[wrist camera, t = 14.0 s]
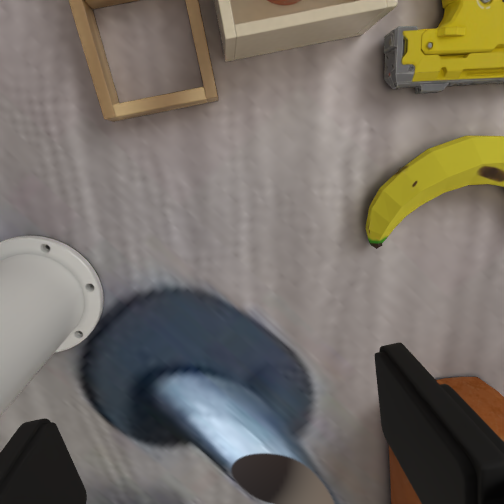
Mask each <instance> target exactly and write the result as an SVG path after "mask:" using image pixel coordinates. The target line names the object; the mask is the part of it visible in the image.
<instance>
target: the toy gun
mask: <svg viewBox="0 0 504 504" xmlns="http://www.w3.org/2000/svg"><path fill="white" fill-rule="evenodd" d="M442 5H443V9H445V11H444V17H443V19H442V21H441V22H440V24H439V26H438V28H436V29H427V30H426V29H421V30H418V28H417V26H398V27H397V28H396V29H394V30H393V31H391V32H390V33H389V34H387V35H386V36H385V40H384V53H385V72H384V79H385V80H386V82H387V83H388V84H389V85H391V87H392V88H393V89H398V88H409V87H414V88H415V94H421V93H436V92H441V91H443V90H444V88H445V87H446V86H452V85H453V84H455V85H466V84H489V83H499V84H500V83H502V82H504V0H442Z"/></svg>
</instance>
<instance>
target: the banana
mask: <svg viewBox="0 0 504 504" xmlns="http://www.w3.org/2000/svg"><path fill="white" fill-rule="evenodd" d="M479 184H491V185H498V186H503V187H504V136H464V137H461V138H458V139H455V140H452V141H449V142H446V143H444V144H441V145H438V146H435V147H432V148H429V149H427V150H426V151H424V152H423V153H422V154H420V155H419V156H418V157H416V158H415V159H413V160H412V161H411V162H409V163H408V164H407V165H405V166H404V167H402V168H401V169H400V170H399V171H398V172H397V173H395V174H394V175H393V176H392V177H391V178H390V179H389V180H388V181H387V182H386V183H385V184H384V185H383V186H381V187H380V188H379V190H378V192H377V194H376V196H375V197H374V199H373V201H372V203H371V205H370V206H369V211H368V217H367V222H366V232H367V236H368V240H369V243H370V244H371V245H372V246H373V247H375V248H376V249H377V248H379V247H380V246H382V243H383V242H384V240H385V239H386V238H387V237H388V236H389V235H390V233H391V232H392V231H393V229H394V228H395V227H396V226H397V225H398V224H399V223H400V222H401V221H402V220H403V219H404V218H405V217H406V216H407V215H408V214H410V213H411V212H412V211H414V210H415V209H417V208H418V207H419V206H421V205H422V204H424V203H426V202H428V201H430V200H432V199H433V198H435V197H437V196H439V195H441V194H443V193H445V192H448V191H451V190H454V189H458V188H461V187H464V186H467V185H479Z"/></svg>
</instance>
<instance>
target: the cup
mask: <svg viewBox="0 0 504 504" xmlns="http://www.w3.org/2000/svg"><path fill="white" fill-rule="evenodd" d="M267 1H269V2H271V3H274V4H277V5H292V4H295V3H298V2H300V1H301V0H267Z"/></svg>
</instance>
